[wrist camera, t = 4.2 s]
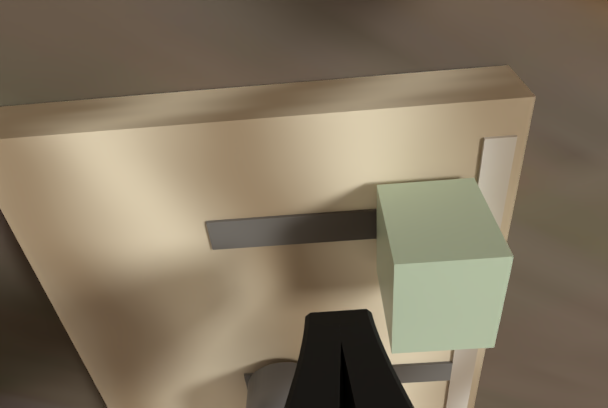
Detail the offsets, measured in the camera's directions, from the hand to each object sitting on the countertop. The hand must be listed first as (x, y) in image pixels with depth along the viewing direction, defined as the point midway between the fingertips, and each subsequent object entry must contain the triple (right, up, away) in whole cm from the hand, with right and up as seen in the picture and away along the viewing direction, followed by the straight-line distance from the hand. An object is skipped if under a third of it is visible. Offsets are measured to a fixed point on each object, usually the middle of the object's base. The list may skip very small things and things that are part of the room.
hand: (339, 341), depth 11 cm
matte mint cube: (+2, +2, +3) cm, 4 cm away
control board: (-1, -2, +9) cm, 9 cm away
